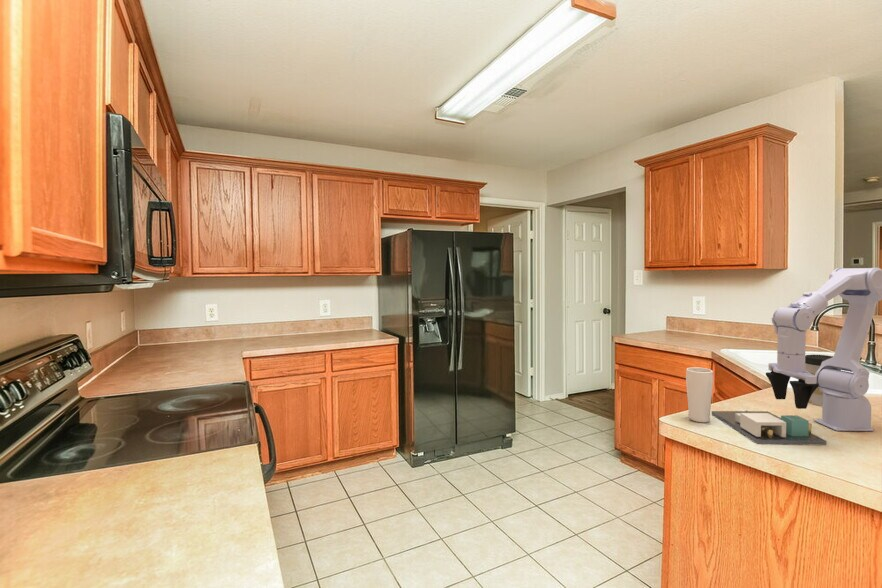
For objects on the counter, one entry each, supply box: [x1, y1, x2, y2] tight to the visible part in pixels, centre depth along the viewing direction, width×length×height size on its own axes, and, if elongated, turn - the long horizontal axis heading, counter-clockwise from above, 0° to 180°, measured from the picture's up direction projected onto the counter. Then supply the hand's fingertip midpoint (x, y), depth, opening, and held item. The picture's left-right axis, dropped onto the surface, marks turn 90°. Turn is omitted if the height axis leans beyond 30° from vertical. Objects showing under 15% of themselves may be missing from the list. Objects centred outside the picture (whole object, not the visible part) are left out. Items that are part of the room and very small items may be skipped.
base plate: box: [711, 410, 827, 445], centre depth 118 cm, size 16×22×4 cm
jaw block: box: [780, 414, 810, 436], centre depth 111 cm, size 4×4×4 cm
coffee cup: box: [805, 354, 834, 407], centre depth 136 cm, size 10×10×15 cm
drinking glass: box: [685, 366, 714, 424], centre depth 125 cm, size 7×7×15 cm
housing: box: [735, 413, 786, 437], centre depth 115 cm, size 7×12×4 cm, turn 174°
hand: (790, 403), depth 113 cm, fingers open, 7 cm apart
